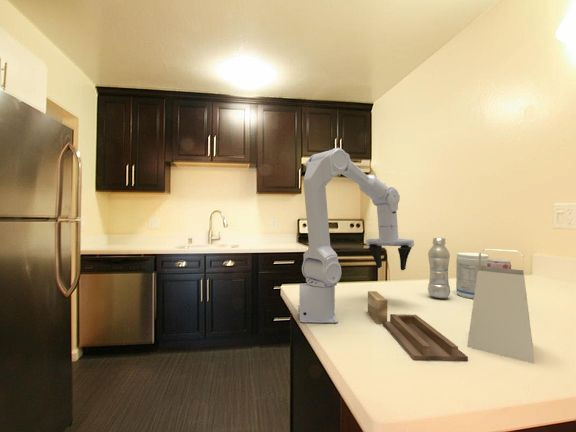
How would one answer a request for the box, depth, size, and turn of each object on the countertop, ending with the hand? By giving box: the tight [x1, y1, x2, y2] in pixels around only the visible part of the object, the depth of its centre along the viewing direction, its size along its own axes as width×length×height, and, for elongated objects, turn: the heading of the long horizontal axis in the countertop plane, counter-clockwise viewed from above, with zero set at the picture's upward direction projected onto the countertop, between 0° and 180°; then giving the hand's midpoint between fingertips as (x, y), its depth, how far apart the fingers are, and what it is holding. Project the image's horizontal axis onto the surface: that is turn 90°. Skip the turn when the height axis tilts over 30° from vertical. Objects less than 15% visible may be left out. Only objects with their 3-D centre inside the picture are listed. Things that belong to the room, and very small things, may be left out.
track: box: [382, 313, 469, 362], centre depth 63 cm, size 10×18×3 cm, turn 179°
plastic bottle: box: [427, 237, 451, 300], centre depth 98 cm, size 6×7×20 cm
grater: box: [466, 248, 535, 364], centre depth 61 cm, size 10×10×20 cm
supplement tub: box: [455, 251, 489, 300], centre depth 100 cm, size 10×10×15 cm
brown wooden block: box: [367, 290, 388, 325], centre depth 77 cm, size 3×9×6 cm, turn 179°
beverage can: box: [487, 257, 512, 269], centre depth 83 cm, size 6×6×15 cm
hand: (391, 268), depth 92 cm, fingers open, 7 cm apart
